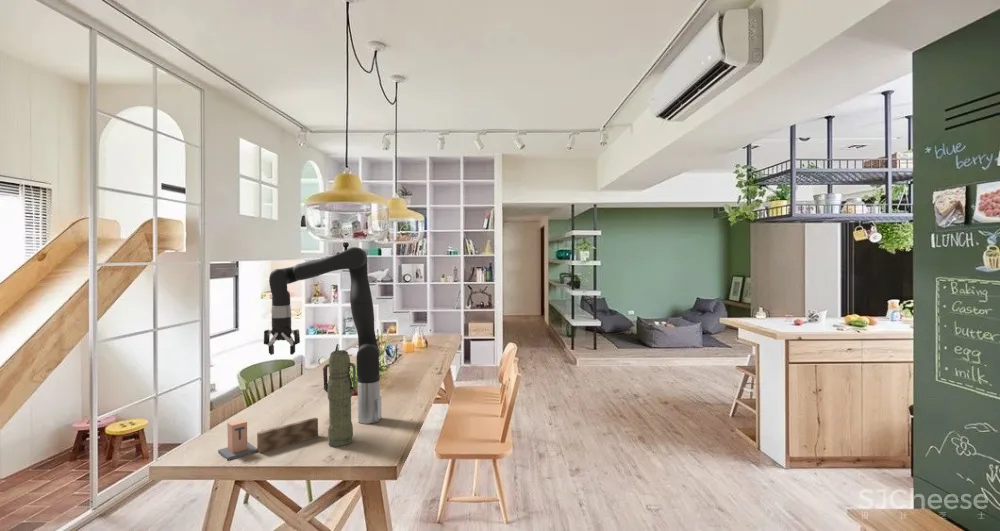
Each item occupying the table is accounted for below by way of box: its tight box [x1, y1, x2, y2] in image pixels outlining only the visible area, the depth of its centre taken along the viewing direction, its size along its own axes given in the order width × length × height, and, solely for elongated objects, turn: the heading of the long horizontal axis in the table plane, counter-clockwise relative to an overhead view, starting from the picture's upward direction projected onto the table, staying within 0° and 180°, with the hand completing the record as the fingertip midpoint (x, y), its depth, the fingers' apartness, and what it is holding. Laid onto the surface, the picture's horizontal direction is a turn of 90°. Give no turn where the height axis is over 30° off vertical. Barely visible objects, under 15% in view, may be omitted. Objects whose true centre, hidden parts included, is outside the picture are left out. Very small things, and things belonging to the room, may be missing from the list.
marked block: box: [226, 418, 248, 453], centre depth 173 cm, size 5×5×10 cm
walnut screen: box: [256, 416, 319, 454], centre depth 180 cm, size 22×2×7 cm, turn 137°
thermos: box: [322, 349, 357, 448], centre depth 180 cm, size 9×12×35 cm
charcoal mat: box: [217, 441, 259, 461], centre depth 173 cm, size 10×10×1 cm
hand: (282, 354), depth 200 cm, fingers open, 8 cm apart
